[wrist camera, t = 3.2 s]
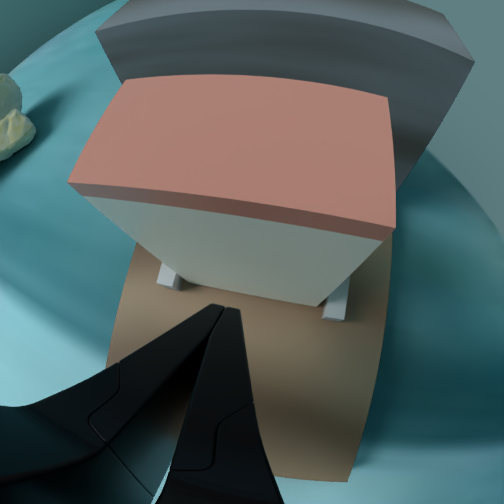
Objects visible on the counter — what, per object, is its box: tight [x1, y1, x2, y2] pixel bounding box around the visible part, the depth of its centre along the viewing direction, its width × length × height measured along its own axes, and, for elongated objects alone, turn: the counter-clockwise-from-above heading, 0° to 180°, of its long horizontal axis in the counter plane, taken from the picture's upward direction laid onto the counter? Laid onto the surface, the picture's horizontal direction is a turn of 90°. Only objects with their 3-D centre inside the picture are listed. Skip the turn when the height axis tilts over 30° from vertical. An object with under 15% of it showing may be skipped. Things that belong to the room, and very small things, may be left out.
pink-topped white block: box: [67, 74, 396, 307], centre depth 9 cm, size 3×6×9 cm, turn 78°
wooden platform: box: [95, 0, 475, 482], centre depth 10 cm, size 19×13×11 cm
